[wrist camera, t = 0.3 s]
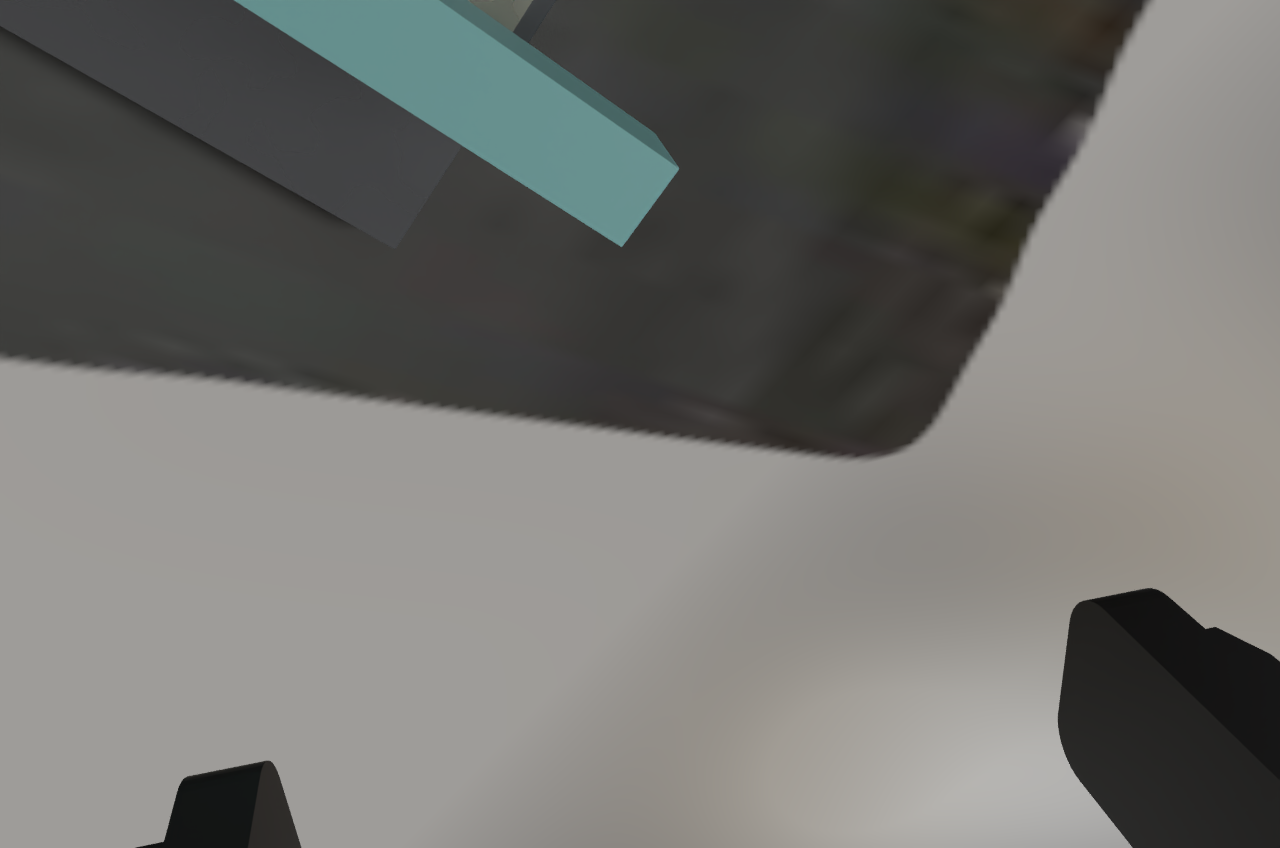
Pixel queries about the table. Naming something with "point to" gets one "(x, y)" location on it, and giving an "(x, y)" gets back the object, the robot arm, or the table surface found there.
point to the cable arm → (491, 100)
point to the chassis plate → (262, 96)
